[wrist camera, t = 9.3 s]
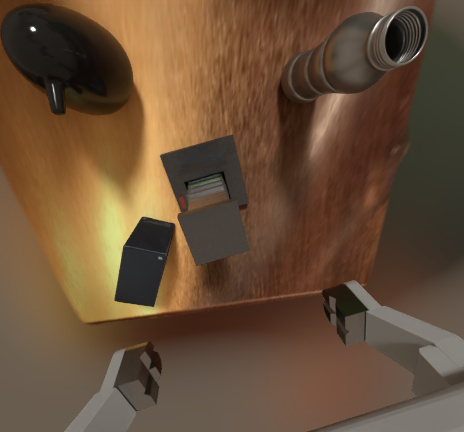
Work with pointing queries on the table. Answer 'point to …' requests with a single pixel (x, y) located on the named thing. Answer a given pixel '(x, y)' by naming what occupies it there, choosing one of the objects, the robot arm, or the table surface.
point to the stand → (205, 168)
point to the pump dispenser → (68, 58)
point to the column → (212, 221)
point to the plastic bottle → (356, 54)
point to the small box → (144, 262)
